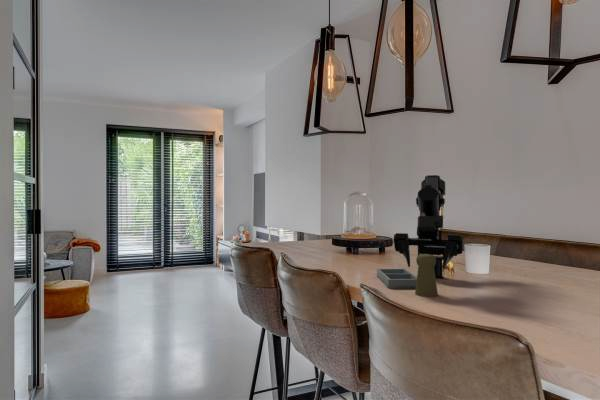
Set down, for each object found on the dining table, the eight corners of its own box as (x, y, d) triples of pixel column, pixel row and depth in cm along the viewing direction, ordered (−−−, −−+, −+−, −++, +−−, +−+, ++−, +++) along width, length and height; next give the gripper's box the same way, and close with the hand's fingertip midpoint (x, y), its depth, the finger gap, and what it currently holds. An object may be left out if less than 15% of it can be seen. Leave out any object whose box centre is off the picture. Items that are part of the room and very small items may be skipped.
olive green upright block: (439, 297, 112) (439, 256, 112) (415, 296, 113) (415, 255, 113) (436, 292, 118) (436, 253, 118) (414, 291, 119) (414, 252, 119)
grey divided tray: (405, 276, 142) (405, 268, 142) (421, 287, 123) (420, 279, 123) (376, 276, 142) (376, 268, 141) (388, 288, 123) (388, 279, 123)
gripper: (394, 205, 123) (388, 247, 113) (462, 205, 116) (462, 250, 106) (398, 230, 131) (392, 271, 120) (462, 232, 124) (462, 275, 114)
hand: (426, 267), depth 115 cm, fingers open, 9 cm apart
